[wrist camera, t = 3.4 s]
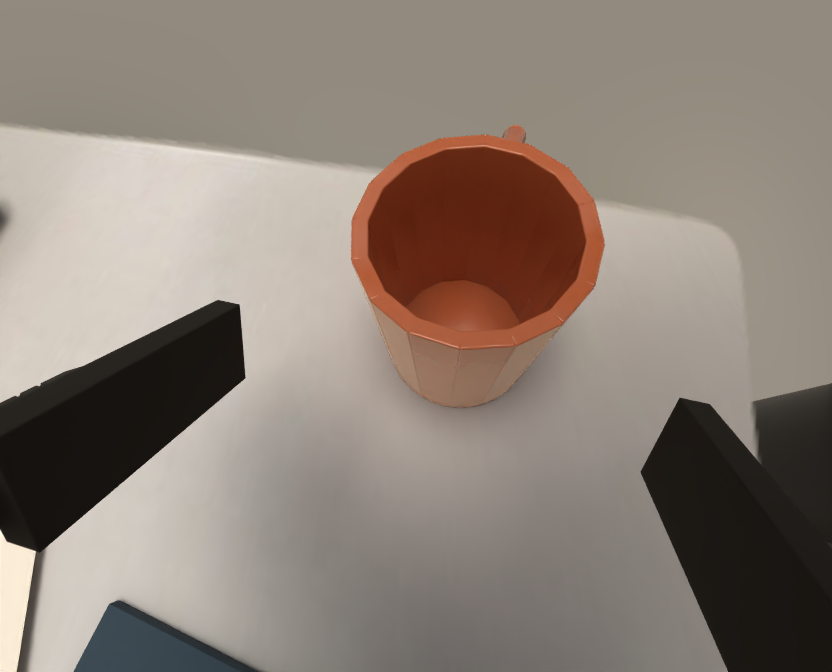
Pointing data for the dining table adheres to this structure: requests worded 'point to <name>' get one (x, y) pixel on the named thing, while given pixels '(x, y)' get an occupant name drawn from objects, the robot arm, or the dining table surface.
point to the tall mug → (473, 261)
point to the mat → (148, 647)
